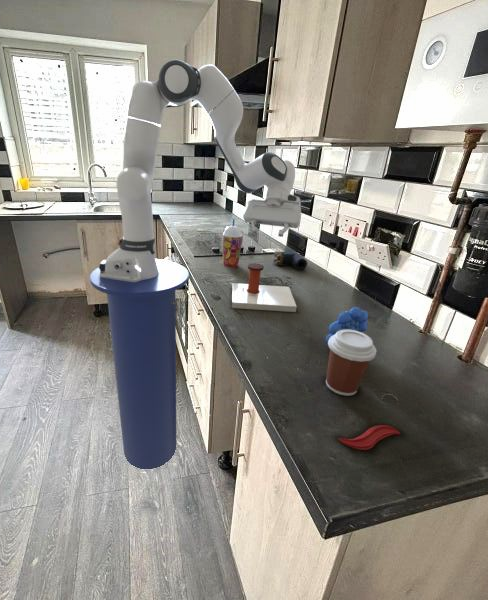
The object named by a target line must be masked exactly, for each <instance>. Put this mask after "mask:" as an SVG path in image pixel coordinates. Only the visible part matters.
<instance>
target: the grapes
mask: <svg viewBox="0 0 488 600" xmlns="http://www.w3.org/2000/svg"><path fill="white" fill-rule="evenodd" d="M368 318H369V313H368V311H367V310H362V309H361V308H360V307H359V306H354V307H352V308H351V309H349V311H342V312H340V313H339V314H338V316H337V320H335V321H333V322H331V324H330V325H329V326H328V332H329V333H328V334H327V335H326V336H325V344H326V345H328V340H329V339H330V337H331V336H333V335H335V334H336V333H337V332H338V331H340V330H346V329H348V330H355V331H359V332H361V333H364V332H365V331H367V330H368V327H369V323H368Z"/></svg>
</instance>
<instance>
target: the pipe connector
mask: <svg viewBox="0 0 488 600" xmlns="http://www.w3.org/2000/svg"><path fill="white" fill-rule="evenodd" d="M273 253H274V254H273V256H274V258H273V261H272V262H273V263H274V264H275V265H276V266H283V265H285V266H286V265H287V266H293V267H294V268H295V269H296V270H298V271H303V270H305V269H306V268H307V266H308V261H307V260H306V259H305V258H304V257H302V255H300V254H299V253H297V252H296V251H294V249H292V248H287V249H286V250H285V251H284V252H273Z"/></svg>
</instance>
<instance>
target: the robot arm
mask: <svg viewBox="0 0 488 600" xmlns="http://www.w3.org/2000/svg"><path fill="white" fill-rule="evenodd" d="M188 101H195V102H197V103H198V104H199V105H200V106H201V107H202V108H203V111H204V112H205V113H206V115H207V116H208V118H209V119H210V121H211V124H212V126H213V130H214V132H213V137H214V139H215V142H216V145H217V147H218V149H219V150H220V152H221V155H222V156H223V157H224V160H225V162H226V164H227V165H228V168H229V169H230V171H231V174H232V175H233V178H234V181H235V184H236V186H237V187H238V189H239V190H241V191H242V192H243V193H245V194H252V193H255V192H256V191H257V190H259V189H260V188H262V187H264V186H266V187H267V188H266V191H265V195H264V199H254V198H253V199H252V200H249V201H247V202H246V205H245V209H244V212H243V215H242V217H243V218H242V219H243V221H244V222H245V223H247V224H251V226H252V228H251V234H257V232H258V226H257V225H263V226H273V227H283V228H282V229H278V233H277V234H278V235H277V236H278V237H279V238H280V237H281V238H283V237H284V234H285V233H286V232H288V230H289V229H290V228H292V229H298V228H300V226H301V221H302V220H301V219H302V208H301V205H302V203H301V202H302V201H301V197H300V196H297V195H294V194H291V192H292V190H293V187H294V184H295V179H296V168H295V165H294V163H292V161H290V160H288V159H282V158H281V157H280V156H279V155H277V154H276V153H274V152H271V151H266V152H264V153H263V154H261V155H259V156H257V157H256V158H254V159H253V160H251V161H249V162H245V160H244V159H243V156H242V154H241V152H240V149H239V148H238V146H237V144H236V141H235V136H236V133H237V130H238V129H239V127H240V125H241V124H242V120H243V117H244V105H243V102H242V100H241V97H240V96H239V95H238V93H237V91H236V90H235V88H234V87H233V85H232V84H231V83H230V81H229V79H228V78H227V77H226V76H225V75H224V74H223V72H222V71H221V70H220V69H218V67H217V66H216V65H214V64H211V63H209V64H204V65H203V66H201V67H200V68H199V69H198V68H197V67H195V66H193V65H191V64H188V63H187V62H185V61H183V60H180V59H171V60H168V61H166V62H165V63H164V64H163V65H162V67H161V68H160V70H159V73H158V78H157V79H156V80H155V81H148V80H139V81H137V82H136V83H135V84H134V85H133V86H132V90H131V93H130V97H129V100H128V104H127V111H126V119H125V126H124V127H125V128H124V136H123V161H122V170H121V171H120V172H119V174H118V175H117V178H116V191H117V198H118V203H119V209H120V214H121V222H122V223H121V224H122V236H121V237H120V239H118V241H117V245H118V248H117V249H116V250H114V251H113V252H112V253H111V254H109V255H108V256H107V258H106V259H102V260H101V261H100V263H99V266H98V267H99V269H100V277H102V278H108V279H115V280H122V281H129V282H138V281H141V280H146V279H150V278H154V277H156V276H157V275H158V274H159V270H158V267H157V264H156V259H157V258H156V247H157V246H156V238H155V235H154V216H153V215H154V213H153V204H152V203H153V202H152V189H153V186H154V179H155V178H154V177H155V170H156V163H157V155H158V149H159V148H158V147H159V140H160V134H161V128H162V120H163V116H164V115H163V114H164V111H165V109H166V108H179V107H182V106H184V105H185V104H187V103H188Z"/></svg>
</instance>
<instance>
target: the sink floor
mask: <svg viewBox="0 0 488 600" xmlns="http://www.w3.org/2000/svg"><path fill="white" fill-rule="evenodd" d="M248 284H249V283H232V287H231V290H232V291H231V293H232V294H231V308H232V309H240V310H241V309H244V310H255V311H256V310H257V311H271V312H288V313H296V312H297V308H298V306H297V304H296V301H295V298H294V296H293V293H292V291H291V288H290V286H284V285H283V286H281V285H268V284H259V291H258V293H257V294H251V293H248Z"/></svg>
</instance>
